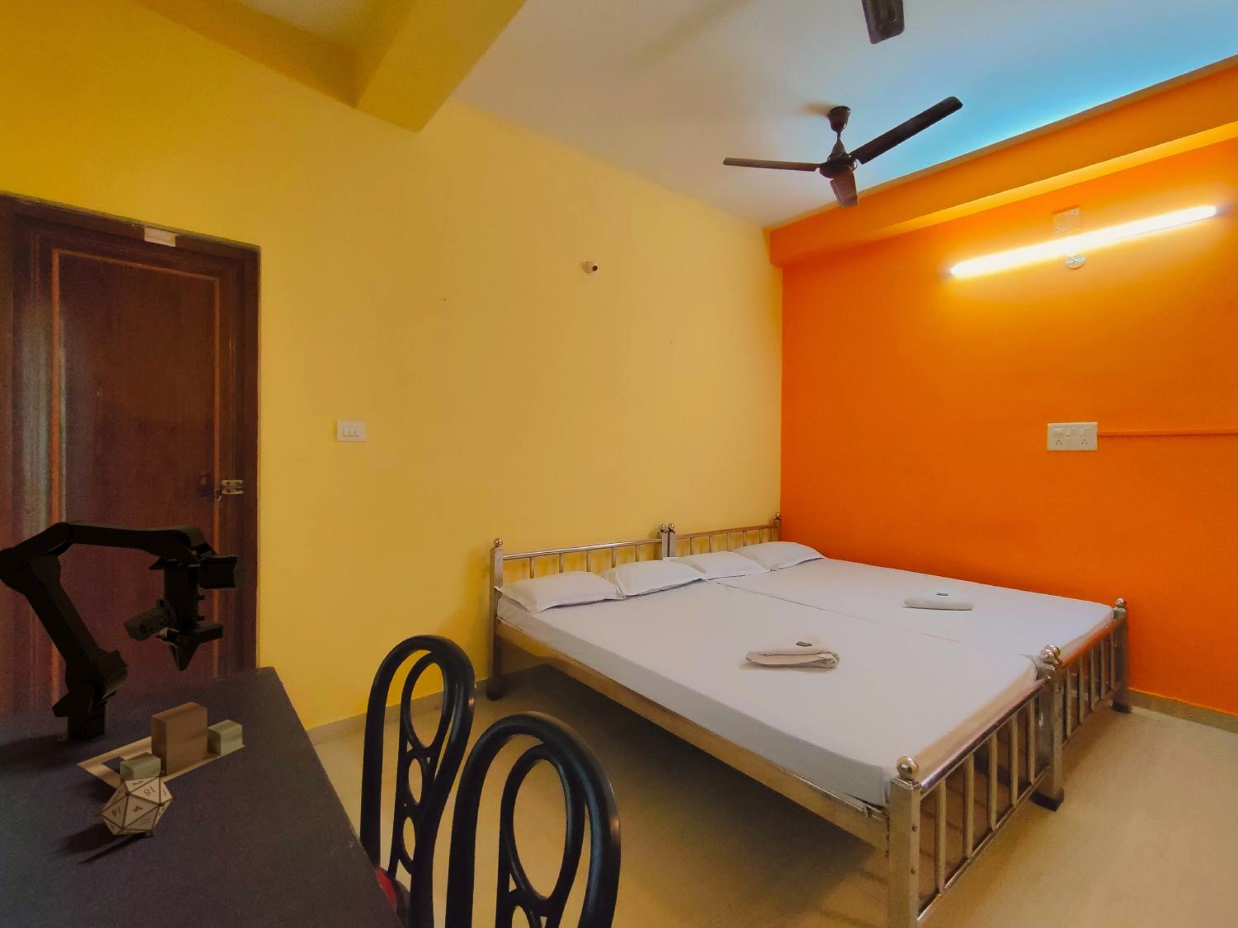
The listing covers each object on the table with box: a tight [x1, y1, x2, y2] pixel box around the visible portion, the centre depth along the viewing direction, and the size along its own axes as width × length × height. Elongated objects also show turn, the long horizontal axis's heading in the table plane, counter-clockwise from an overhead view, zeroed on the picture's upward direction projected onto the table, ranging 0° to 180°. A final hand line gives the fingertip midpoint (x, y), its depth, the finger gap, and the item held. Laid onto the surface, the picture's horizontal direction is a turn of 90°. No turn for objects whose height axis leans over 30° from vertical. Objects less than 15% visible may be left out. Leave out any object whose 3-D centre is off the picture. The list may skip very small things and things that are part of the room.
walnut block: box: [150, 701, 208, 776], centre depth 96 cm, size 5×6×9 cm
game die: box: [90, 770, 181, 844], centre depth 80 cm, size 9×8×10 cm
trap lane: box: [76, 719, 246, 790], centre depth 98 cm, size 18×17×5 cm
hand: (181, 670), depth 108 cm, fingers closed
